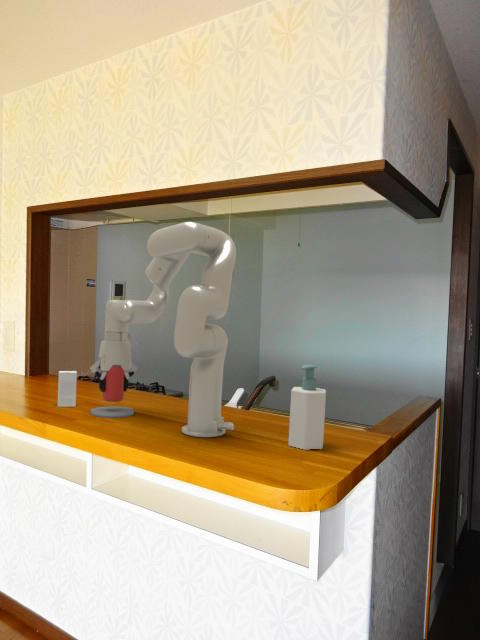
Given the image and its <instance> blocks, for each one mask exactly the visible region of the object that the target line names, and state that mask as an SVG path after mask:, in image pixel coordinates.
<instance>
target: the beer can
mask: <svg viewBox="0 0 480 640" xmlns="http://www.w3.org/2000/svg"><path fill="white" fill-rule="evenodd" d="M124 375H125V374H124V370H123V369H122V367H121V365H112V367H111V368H110V370H109V371H107V373H106V375H105V377H104V380H105V392H102V399H103V401H105V402H109V403H110V402H111V403H117V402H121V401H123V400H124V393H125V391H124Z"/></svg>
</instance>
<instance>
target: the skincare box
mask: <svg viewBox="0 0 480 640" xmlns="http://www.w3.org/2000/svg"><path fill="white" fill-rule="evenodd" d="M77 374H78V372H77V370H71V371H70V370H59V371H58V381H57V382H58V383H57V408H59V407H60V408H62V407H63V408H64V407H65V408H66V407H74V408H75V407H76V406H77V405H76V404H77V403H76V401H77Z"/></svg>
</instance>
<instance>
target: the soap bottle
mask: <svg viewBox="0 0 480 640" xmlns="http://www.w3.org/2000/svg"><path fill="white" fill-rule="evenodd" d="M317 368H318V367H317V365H315V364H304V365H302V366H301V370H302V371H303V370H304V371H305V377H302V381H301V383H302V384H301V386H293V388H291V391H290V406H289V407H290V410H289V427H288V444H287V445H288V447H291V446H292V448H295V447H296V449H299V448H300V449H299V450H302V449H303V451H311V450H310V449H320V450H322V449H323V447H324V437H325V436H324V435H325V421H326V420H325V417H326V397H327V390H326V389H325V388H319V387H317V378H315V369H317Z"/></svg>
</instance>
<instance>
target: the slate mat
mask: <svg viewBox="0 0 480 640" xmlns="http://www.w3.org/2000/svg"><path fill="white" fill-rule="evenodd" d="M134 414H135V410H134V408H131V407H128V406H127V407H126V406H117V405H116V406H114V405H111V406H99V407H94V408H92V409H90V415H91V416H93V417H97V418H104V419H107V418H108V419H116V418H117V419H118V418H119V419H121V418H128V417H132V416H134Z"/></svg>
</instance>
